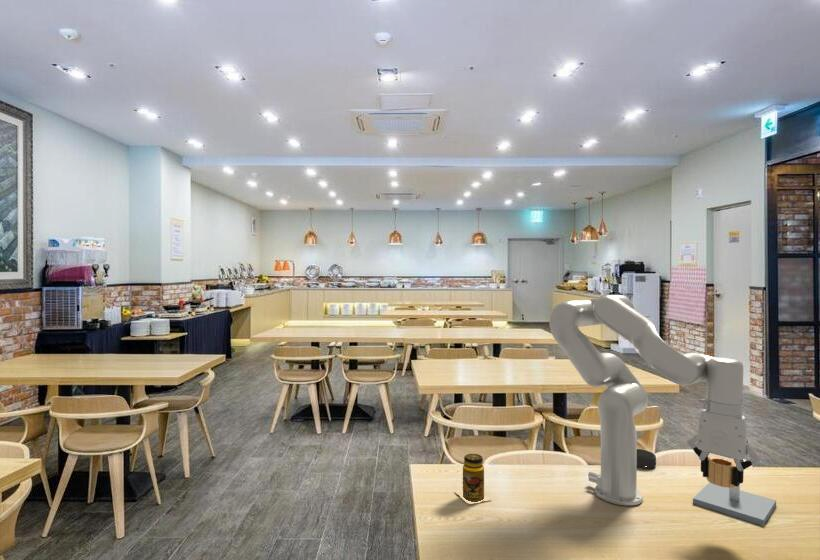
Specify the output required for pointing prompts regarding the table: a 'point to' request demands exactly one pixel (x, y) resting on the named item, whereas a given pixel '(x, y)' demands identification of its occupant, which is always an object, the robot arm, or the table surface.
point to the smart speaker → (645, 459)
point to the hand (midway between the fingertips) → (721, 479)
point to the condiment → (473, 478)
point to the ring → (720, 472)
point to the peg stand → (736, 503)
